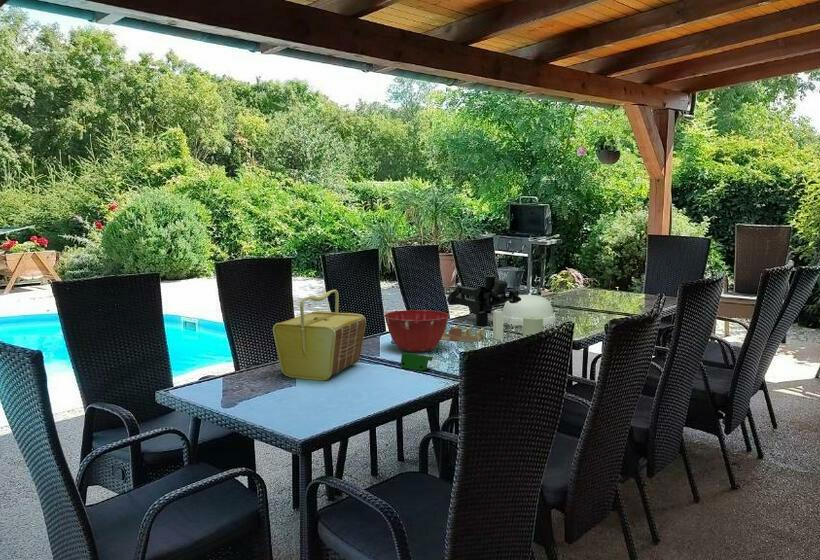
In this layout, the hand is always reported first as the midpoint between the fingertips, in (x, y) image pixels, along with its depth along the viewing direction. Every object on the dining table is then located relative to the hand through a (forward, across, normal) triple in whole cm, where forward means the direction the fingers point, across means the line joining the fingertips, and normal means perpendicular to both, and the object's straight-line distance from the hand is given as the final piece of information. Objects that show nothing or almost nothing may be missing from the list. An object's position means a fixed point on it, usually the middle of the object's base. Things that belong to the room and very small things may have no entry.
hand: (513, 300), depth 305 cm
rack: (-5, -28, +17) cm, 33 cm away
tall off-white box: (+5, -14, +17) cm, 22 cm away
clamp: (+31, -74, +17) cm, 82 cm away
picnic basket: (+15, -107, +17) cm, 109 cm away
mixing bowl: (+3, -57, +17) cm, 59 cm away
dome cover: (-22, +29, +17) cm, 40 cm away
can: (+20, -5, +17) cm, 26 cm away
